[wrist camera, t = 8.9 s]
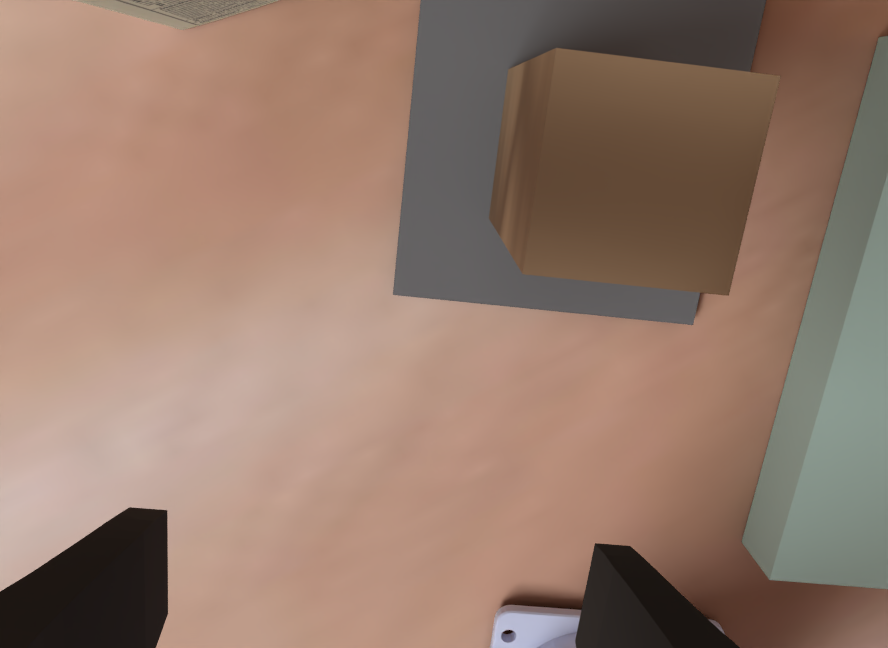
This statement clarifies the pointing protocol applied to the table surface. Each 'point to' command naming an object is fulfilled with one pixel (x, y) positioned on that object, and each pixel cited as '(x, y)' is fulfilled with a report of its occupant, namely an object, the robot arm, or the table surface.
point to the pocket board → (837, 388)
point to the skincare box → (179, 10)
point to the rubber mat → (478, 129)
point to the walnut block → (629, 168)
